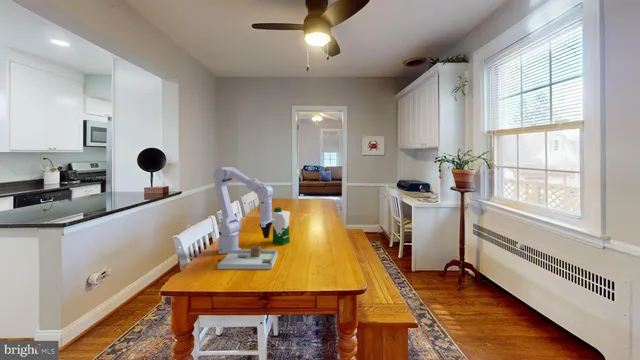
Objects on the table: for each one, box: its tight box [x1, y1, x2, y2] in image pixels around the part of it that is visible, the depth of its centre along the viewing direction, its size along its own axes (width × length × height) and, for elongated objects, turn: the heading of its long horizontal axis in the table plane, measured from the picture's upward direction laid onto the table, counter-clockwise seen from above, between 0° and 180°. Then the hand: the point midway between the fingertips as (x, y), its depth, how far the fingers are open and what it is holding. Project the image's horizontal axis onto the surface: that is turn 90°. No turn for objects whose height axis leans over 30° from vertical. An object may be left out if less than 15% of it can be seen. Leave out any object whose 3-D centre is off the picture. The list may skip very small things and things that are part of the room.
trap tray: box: [217, 249, 278, 270], centre depth 132 cm, size 24×16×3 cm, turn 90°
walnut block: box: [250, 245, 262, 257], centre depth 136 cm, size 4×4×4 cm
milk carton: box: [271, 206, 291, 246], centre depth 159 cm, size 9×9×20 cm
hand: (266, 237), depth 137 cm, fingers closed
